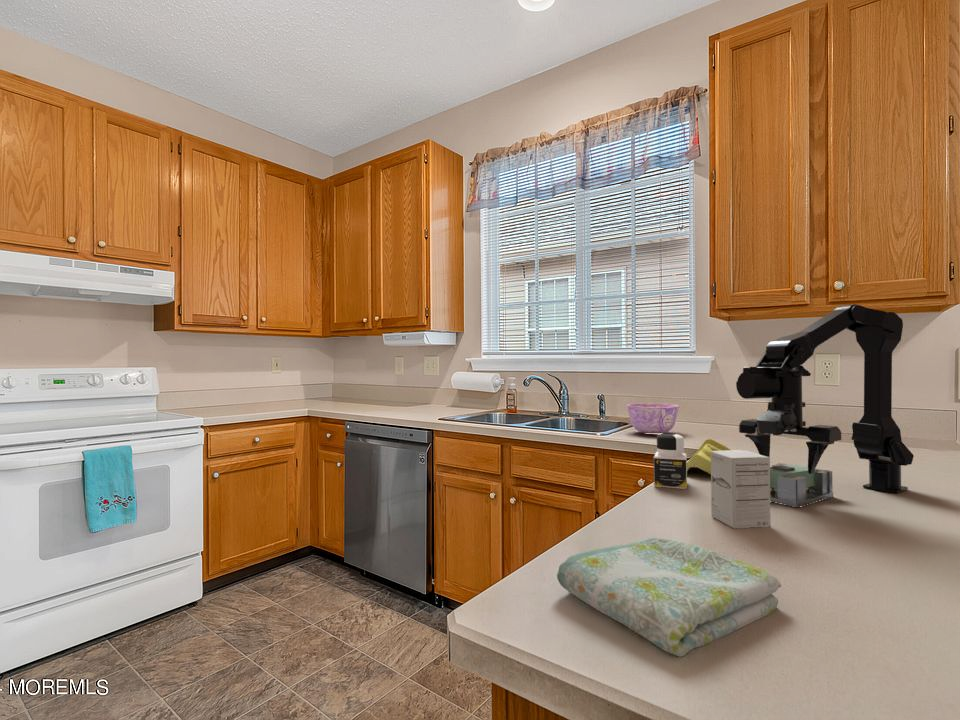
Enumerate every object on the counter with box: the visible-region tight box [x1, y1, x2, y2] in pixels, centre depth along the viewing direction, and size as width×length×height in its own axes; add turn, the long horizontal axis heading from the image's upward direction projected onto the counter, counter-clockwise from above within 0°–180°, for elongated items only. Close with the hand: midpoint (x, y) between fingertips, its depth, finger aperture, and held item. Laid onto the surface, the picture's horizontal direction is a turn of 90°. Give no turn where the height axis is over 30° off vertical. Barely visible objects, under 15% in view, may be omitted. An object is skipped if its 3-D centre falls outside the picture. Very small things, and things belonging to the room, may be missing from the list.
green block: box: [770, 463, 818, 489], centre depth 112 cm, size 10×6×4 cm, turn 115°
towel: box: [556, 537, 782, 658], centre depth 64 cm, size 18×21×5 cm
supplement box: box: [710, 449, 772, 529], centre depth 95 cm, size 7×7×13 cm
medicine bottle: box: [653, 433, 688, 490], centre depth 124 cm, size 7×7×12 cm
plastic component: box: [687, 438, 732, 475], centre depth 139 cm, size 20×7×10 cm
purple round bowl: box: [626, 402, 680, 434], centre depth 209 cm, size 20×20×12 cm
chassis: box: [770, 462, 834, 508], centre depth 112 cm, size 15×11×6 cm
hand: (787, 469), depth 112 cm, fingers open, 9 cm apart
